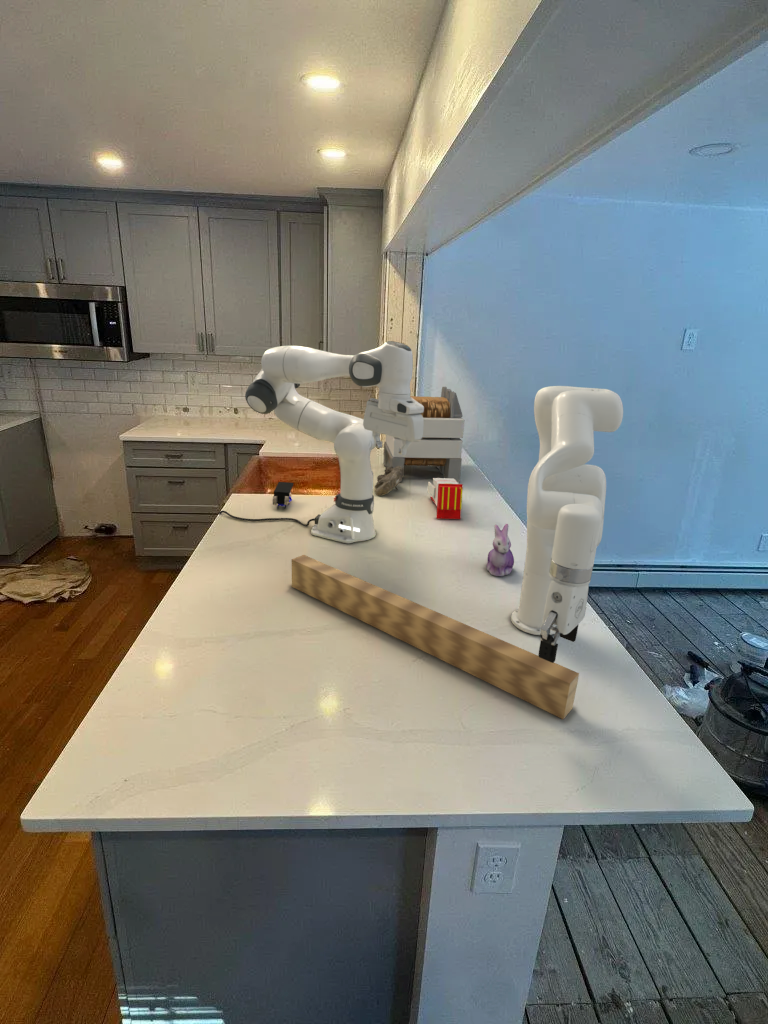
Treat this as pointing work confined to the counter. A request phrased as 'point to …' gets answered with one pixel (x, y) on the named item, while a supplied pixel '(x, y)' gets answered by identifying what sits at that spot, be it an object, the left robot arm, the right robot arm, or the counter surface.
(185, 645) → the counter surface
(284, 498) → the figurine character
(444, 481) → the toy
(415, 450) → the grey crate shelf
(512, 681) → the post
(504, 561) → the figurine
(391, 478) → the fossil
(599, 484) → the right robot arm
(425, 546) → the counter surface
